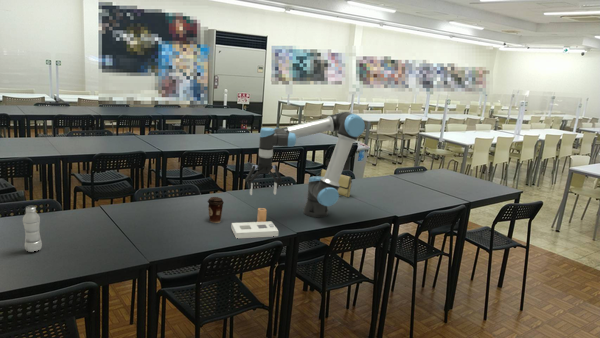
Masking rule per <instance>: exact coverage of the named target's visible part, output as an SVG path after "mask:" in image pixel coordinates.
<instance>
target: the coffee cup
mask: <svg viewBox="0 0 600 338" xmlns="http://www.w3.org/2000/svg"><path fill="white" fill-rule="evenodd" d="M207 203H208V206H207V207H208V220H209V222H211V223H214V224H217V223H218V224H219V223H221V221H222V214H223V207H224V206H223V205H224V201H223V198H221V197H218V196H210V197H209V198H208V200H207Z"/></svg>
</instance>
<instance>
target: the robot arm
mask: <svg viewBox="0 0 600 338" xmlns="http://www.w3.org/2000/svg"><path fill="white" fill-rule="evenodd" d="M365 127H366V125H365V121H364V119H363V118H362V117H361V116H360V115H358V114H355V113H352V112H349V111H343V112H338V113H334V114H331V115H328V116H327V117H325V118H320V119H315V120H312V121H307V122H303V123H299V124H295V125H289V126H285V127H274V128H272V127H261V128H260V131H259V145H258V161H257V165H255V164H252V165H251V169H250V170H249V172H248V174H247V176H246V177H245V179H244V180H245V182H246V183H247V185H248V186H247V188H248V190H249V195H250V196H252V195H253V186H254V184H253V182H254V181H255V179H256V178H257V177H258V176H259V175H260V174H263V175H264V174H267V175H268V174H270V176H271V178H273V180H274V182H273V183H274V184H273V194H274V195H277V189H279V185H280V183H281V182H283V180H282V177H281V175H280V173H279V168H278V165H277V164H274V165H273V156H274V155H273V154H274V147H286V148H287V147H288V148H289V147H291V148H292V147H294V146H296V144H297V143H296V142H297V139H298V138H303V137H307V136H311V135H316V134H322V133H324V132H325V133H326V132H331V133H333V132H337V133H336V134H337V141H336V143H335V146H334V150H333V152H332V153H331V157H330V159H329V160H330V161H329V162H328V166H327V168H326V170H327V171H326V173H325V176H324V177H321V176H318V175H317V176H313V175H312V176H310V177H309V178H308V182H307V183H308V186H307V198H306V199H307V200H306V203H305V204H304V207H303V210H302V213H303V214H304V215H306V216H307V217H312V218H325V217H327V216H328V214H329V209H328V207H331V206H333V205H335V204H336V203H337V202H338V200H339V198H340V197H339V196H340V195H339V194H338V189H339V186H340V185H339V183H338V181H339V179H340V176H341V175H342V173H343V170H344V168H345V164H346V161H347V160H348V157H349V154H350V151H351V149H352V147H353V144H354V143H356V142H358V141H357V140H358V138H359V137H360V136H361V135H362V134H364V131H365V129H366V128H365ZM272 169H273V170H274V172H275V174H276V176H275V175H274V173H273V172H272V171H271V170H272ZM255 170H256V172H255ZM254 172H255V173H254Z"/></svg>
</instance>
